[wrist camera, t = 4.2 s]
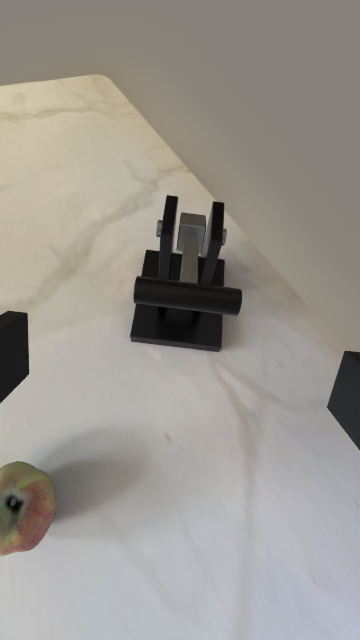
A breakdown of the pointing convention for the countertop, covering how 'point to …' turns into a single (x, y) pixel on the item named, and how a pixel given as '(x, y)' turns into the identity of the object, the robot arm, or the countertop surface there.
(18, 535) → the apple
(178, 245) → the lever
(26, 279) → the countertop surface
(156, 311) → the black lever stand
